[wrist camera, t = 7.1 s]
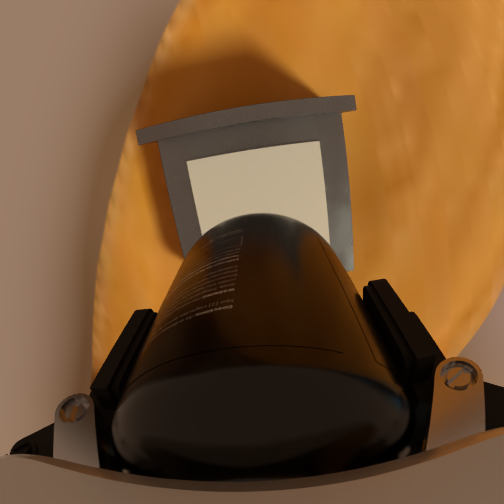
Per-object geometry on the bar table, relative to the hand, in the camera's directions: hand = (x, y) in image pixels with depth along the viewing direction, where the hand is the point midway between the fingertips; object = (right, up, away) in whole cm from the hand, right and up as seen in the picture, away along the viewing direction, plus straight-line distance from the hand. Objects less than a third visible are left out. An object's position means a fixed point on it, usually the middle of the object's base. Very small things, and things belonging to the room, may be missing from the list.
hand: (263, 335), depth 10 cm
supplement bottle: (0, +1, +3) cm, 4 cm away
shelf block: (0, +8, +17) cm, 19 cm away
